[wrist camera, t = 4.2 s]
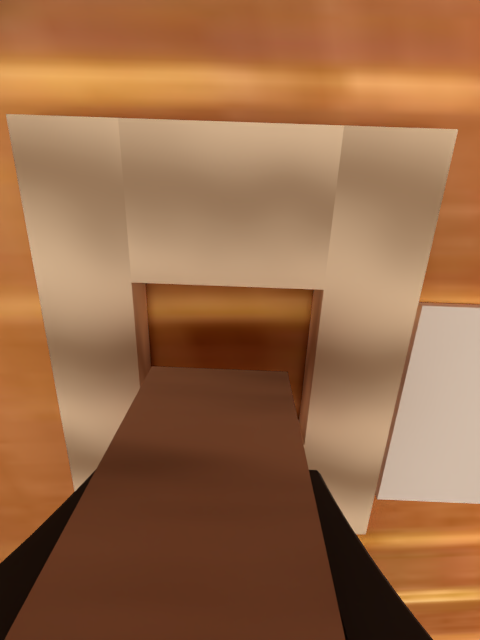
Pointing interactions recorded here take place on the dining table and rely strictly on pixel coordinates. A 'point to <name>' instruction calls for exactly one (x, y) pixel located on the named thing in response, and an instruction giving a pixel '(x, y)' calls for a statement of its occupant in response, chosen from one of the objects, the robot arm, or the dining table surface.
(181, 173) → the pocket board
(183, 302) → the dining table surface
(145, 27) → the dining table surface
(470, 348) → the felt pad
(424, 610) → the dining table surface
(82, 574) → the block
